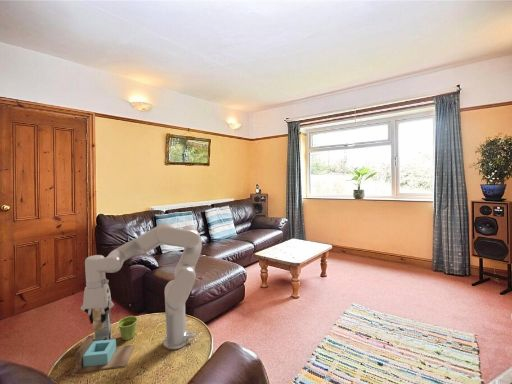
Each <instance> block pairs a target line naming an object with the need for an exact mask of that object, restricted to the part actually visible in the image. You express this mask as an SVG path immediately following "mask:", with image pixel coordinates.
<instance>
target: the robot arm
mask: <svg viewBox="0 0 512 384" xmlns="http://www.w3.org/2000/svg"><path fill="white" fill-rule="evenodd" d="M161 245H167V246H172V247H177V248H184V249H183V252H182V254H181V256H180V258H179V261H178V263H177V264H176V266H175V268H174V279H173V280H170V281H168V283H166V285H165V286H164V306H165V309H164V310H165V334H166V335H165V338H164V339H163V343H162V344H163V347H164V348H166V349H168V350H177V349H178V350H179V349H182V348H184V347H185V346H186V345H187V344H188V343H189V341H190V339H195V337H196V336H195V335H196V334H195V333H194V332H193V331H188V329H187V326H186V324H187V322H186V302H187V300H188V298H189V296H190V293H191V291H192V290H193V288H194V285H195V282H196V279H197V278H196V277H197V274H196V271H195V269H196V265H197V263H198V261H199V258H200V255H201V253H202V247H203V241H202V238H201V234H200V233H199V231H198V230H197V229H196V228H195V227H194V226H192V225H185V226H184V227H183V228H179V227H174V226H173V225H172V223H169V222H162V223H161V224H159V225H157V226H155V227H153V228H151V229H150V230H148V231H146V232H144V233H143V234H141V235H140V236H138V237H136V238H134V239H132V240H129V241H127V242H125V243H124V244H122V245H120V246H118V247H117V248H115V249H113V250H111V251H110V253H108V255H107V256H106V257H105V256H104V255H102V254H95V255H90V256H88V257H86V258H85V259H84V260H85V261H84V267H85V268H84V269H85V270H84V271H85V285H86V286H85V287H84V291H83V303H82V304H81V306H80V310H82V311H83V312H85V313H86V314H87V315H88V320H89V323H90V324H91V325H93V313H92V309H94V308H101V311H102V314H101V323H103V322H104V321H105V320H106V318H107V314H106V312H107V311H108V310H109V309H110V310H111V309H112V308H113V307H114V306H115V304H114V302H113V301H112V297H111V295H112V294H111V289H110V286H109V281H110V280H109V279H107V277H106V273H109V274H110V273H112V274H113V273H117V272H118V271H120V270H121V268H123V264H124V262H126V261H127V260H129V259H131V258H132V257H134V256H136V255H138V254H146V253H149V252H150V251H151V252H152V251H153V250H155V248H158V247H159V246H161Z"/></svg>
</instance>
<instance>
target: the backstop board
mask: <svg viewBox="0 0 512 384" xmlns="http://www.w3.org/2000/svg"><path fill="white" fill-rule="evenodd" d="M93 341H95V338H94V335H88V336H87V337H86V339H85V340H84V341H83V343H82V344H81V345H80V346H79V348H78V350H77V351H76V352H75V369H74V370H73V374H75V373H77V374H78V373H84V372H85V373H86V372H92V371H101V370H110V369H111V370H112V369H118V368H119V369H120V368H126V367H127V365H128V362H129V360H130V358H131V356H132V353H133V352H134V349H135V347H136V344H129V345H119V346H118V345H116V350H115V352H114V354H113V356H112V357H111V359H110V361H109V363H108V364H104V365H95V366H86V367H84V366H83V355H84V354H85V352H86V351H87V350H88V348H89V347H90V345H91V344H92V343H93Z"/></svg>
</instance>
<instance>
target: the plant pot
mask: <svg viewBox="0 0 512 384" xmlns="http://www.w3.org/2000/svg"><path fill="white" fill-rule="evenodd" d="M137 323H138V317H137V316H134V315H130V316H126V317H123V318H121V319H119V321H118V322H117V326H118V329H119V331H120V337H121V340H122V341H123V340H124V341H129V340H132V339H133V338H134V337H135V335H136V328H137Z"/></svg>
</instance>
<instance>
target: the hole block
mask: <svg viewBox="0 0 512 384" xmlns="http://www.w3.org/2000/svg"><path fill="white" fill-rule="evenodd" d="M116 347H117V339H116V338H111V340H101V341H95V340H94V341H93V343H92V344H91V345H90V347H89V348H88V350H87V351H86V352H85V354H84V355H83V366H84V367H86V366H95V365H104V364H108V363H109V361H110V359H111V357H112V356H113V354H114V352H115V350H116Z"/></svg>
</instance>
